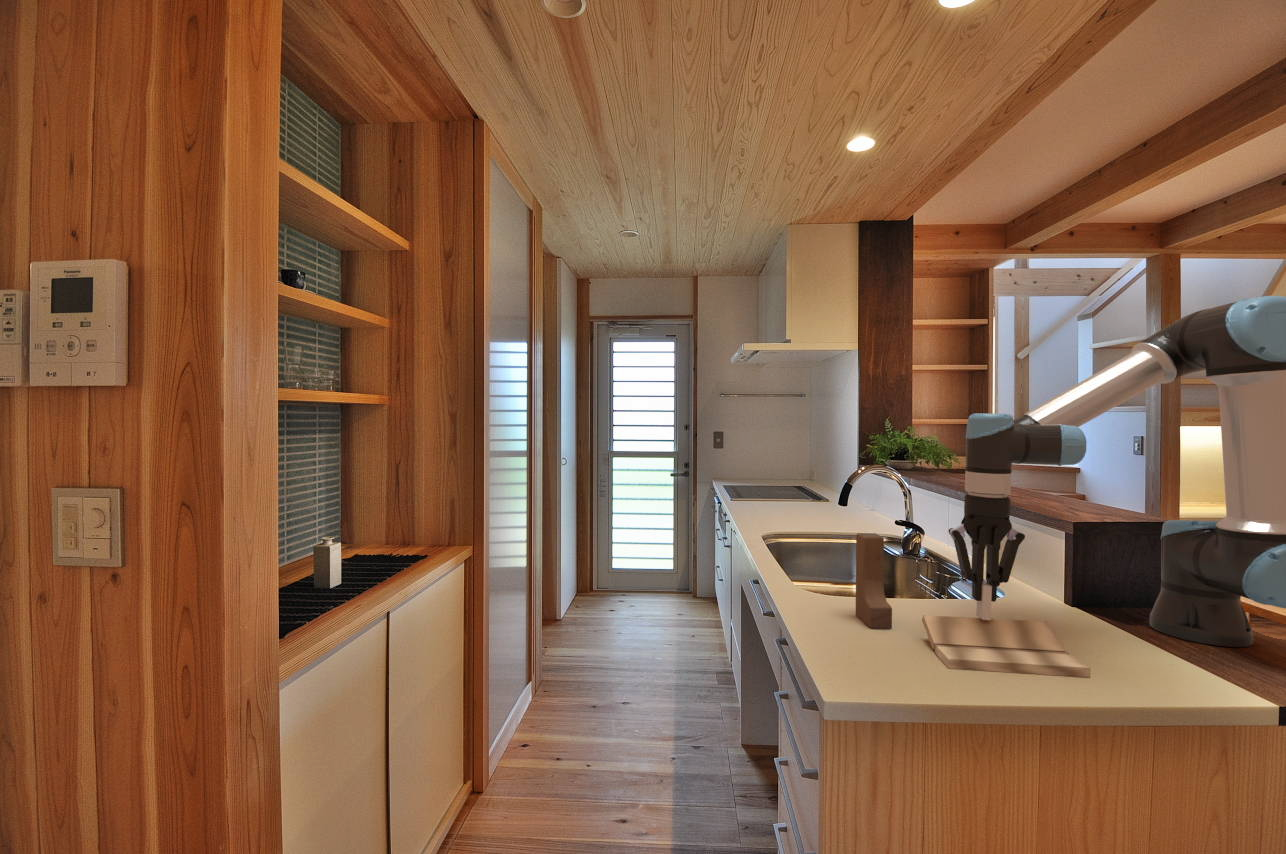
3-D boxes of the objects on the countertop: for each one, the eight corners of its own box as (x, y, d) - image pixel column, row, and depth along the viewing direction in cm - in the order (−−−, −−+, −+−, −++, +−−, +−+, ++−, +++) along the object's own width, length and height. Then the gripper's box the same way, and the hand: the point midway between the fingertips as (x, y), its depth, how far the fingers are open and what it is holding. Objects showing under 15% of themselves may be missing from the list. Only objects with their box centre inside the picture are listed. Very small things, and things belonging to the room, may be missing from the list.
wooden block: (892, 629, 118) (893, 541, 118) (870, 629, 119) (871, 540, 119) (875, 615, 127) (876, 533, 127) (854, 614, 128) (855, 532, 128)
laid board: (1067, 661, 103) (1067, 652, 103) (1090, 677, 96) (1090, 667, 96) (935, 653, 106) (935, 644, 106) (948, 668, 100) (948, 658, 99)
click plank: (1044, 627, 110) (1046, 621, 109) (1063, 657, 104) (1065, 651, 103) (921, 620, 113) (923, 615, 113) (932, 649, 107) (934, 643, 106)
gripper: (1014, 492, 113) (1010, 613, 114) (943, 490, 115) (940, 608, 116) (1034, 498, 106) (1030, 627, 106) (958, 495, 108) (954, 622, 108)
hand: (983, 617), depth 111 cm, fingers closed
